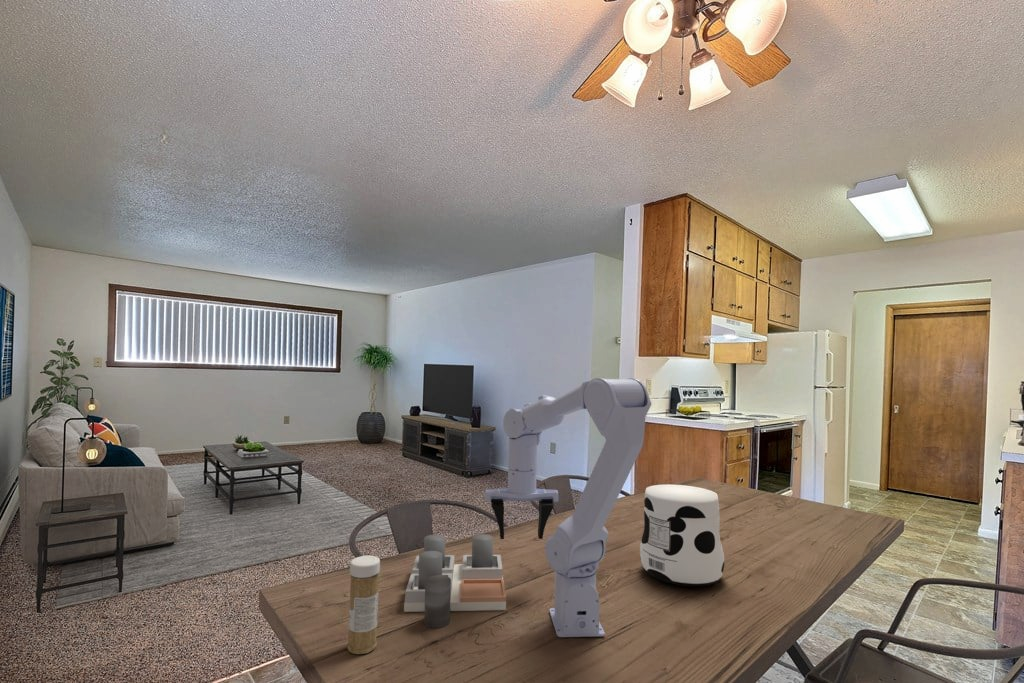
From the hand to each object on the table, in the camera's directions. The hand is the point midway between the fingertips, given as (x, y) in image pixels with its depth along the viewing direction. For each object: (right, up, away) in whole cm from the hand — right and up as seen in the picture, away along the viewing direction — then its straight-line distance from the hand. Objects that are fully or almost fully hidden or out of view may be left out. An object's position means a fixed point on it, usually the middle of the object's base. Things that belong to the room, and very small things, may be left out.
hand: (521, 537), depth 102 cm
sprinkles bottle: (-25, -9, -22) cm, 35 cm away
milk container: (+35, -12, +8) cm, 38 cm away
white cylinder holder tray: (-13, -10, 0) cm, 16 cm away
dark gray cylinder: (-15, -9, -14) cm, 22 cm away
